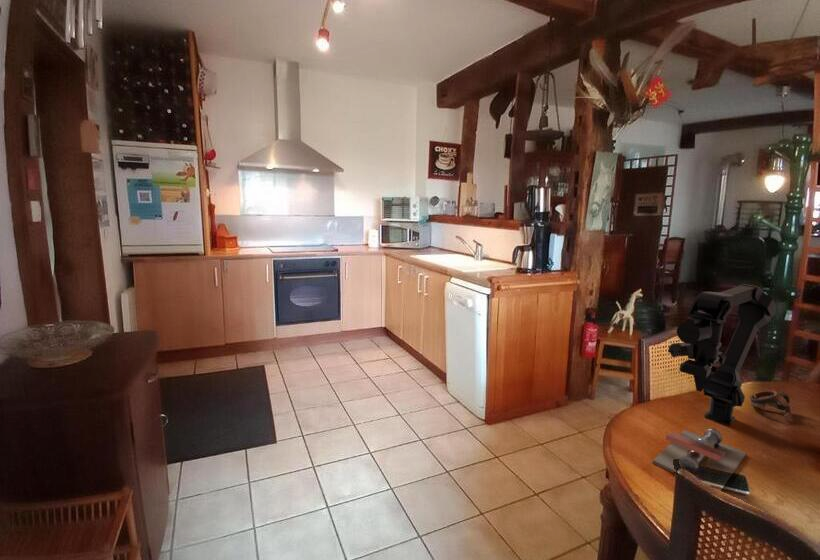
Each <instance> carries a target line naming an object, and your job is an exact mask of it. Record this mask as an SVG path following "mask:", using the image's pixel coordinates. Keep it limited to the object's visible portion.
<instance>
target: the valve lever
mask: <svg viewBox="0 0 820 560" xmlns="http://www.w3.org/2000/svg"><path fill="white" fill-rule="evenodd" d="M680 434H681V433H677V432H673V431H672V432H670V433H668V434H666V437H665V440H666V441H669V442H670V443H672V442H673V443H675V444H678V445H680V446H683V447H685V448H688V449H690V450H693V451H695V452H698V453H700V454H702V455H705V456H707V457H710V458H712V459H715V460H717V461H720V460H721V459H723V458H724V457H725V453H726V452H723V451H721V450H718V449H716V448H713V447H711V446H708V445H707V443H708V441H706V440H704V439H701V438H697V439H695V440H693V439H690V438H687V437H685V436H682V435H680Z"/></svg>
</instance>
